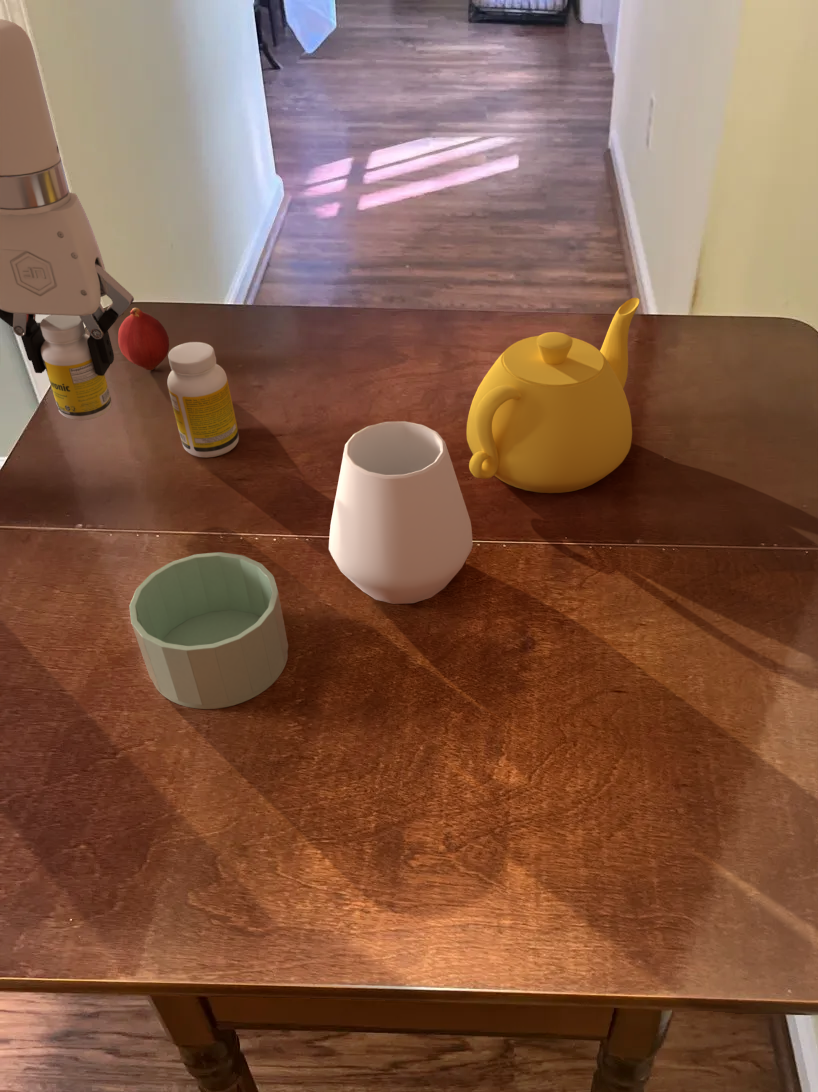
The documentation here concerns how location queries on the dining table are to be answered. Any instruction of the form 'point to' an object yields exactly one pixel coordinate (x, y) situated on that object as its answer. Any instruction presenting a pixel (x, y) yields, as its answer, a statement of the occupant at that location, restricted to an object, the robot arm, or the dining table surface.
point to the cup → (399, 514)
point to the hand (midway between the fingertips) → (73, 366)
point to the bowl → (210, 629)
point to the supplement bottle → (72, 369)
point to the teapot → (554, 411)
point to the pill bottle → (201, 400)
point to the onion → (143, 340)
